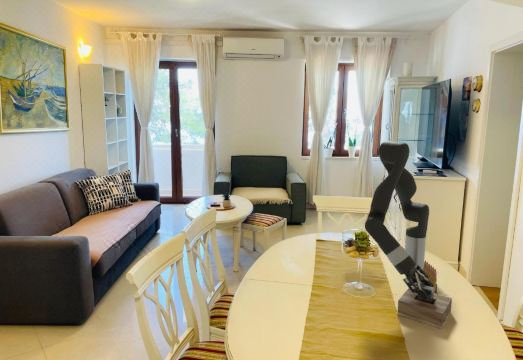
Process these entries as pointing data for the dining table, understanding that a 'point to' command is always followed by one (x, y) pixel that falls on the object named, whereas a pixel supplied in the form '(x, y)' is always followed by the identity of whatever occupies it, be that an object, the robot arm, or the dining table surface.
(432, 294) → the gray rectangular block
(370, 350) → the dining table surface
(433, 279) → the ammunition clip
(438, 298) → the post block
